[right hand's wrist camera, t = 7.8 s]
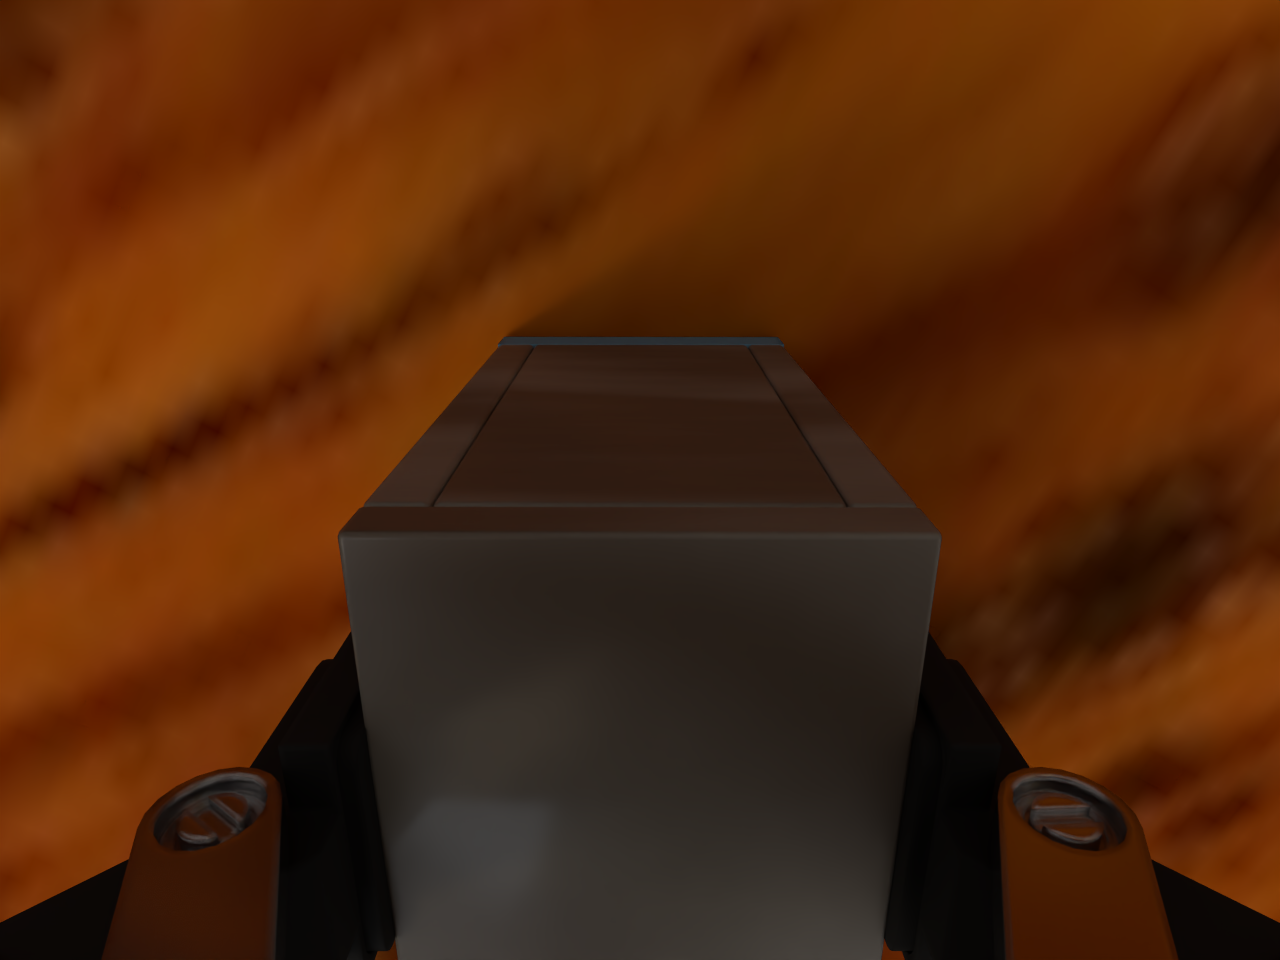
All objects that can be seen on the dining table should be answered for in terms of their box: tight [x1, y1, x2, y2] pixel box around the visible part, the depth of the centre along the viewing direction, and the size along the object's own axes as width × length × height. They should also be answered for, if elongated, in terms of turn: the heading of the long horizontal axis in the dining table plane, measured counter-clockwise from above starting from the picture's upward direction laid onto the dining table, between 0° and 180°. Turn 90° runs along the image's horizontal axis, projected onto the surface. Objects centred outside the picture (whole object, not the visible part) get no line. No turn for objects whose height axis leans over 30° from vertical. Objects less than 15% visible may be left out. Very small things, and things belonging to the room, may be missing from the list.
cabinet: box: [338, 337, 942, 960], centre depth 15 cm, size 16×6×10 cm, turn 0°
